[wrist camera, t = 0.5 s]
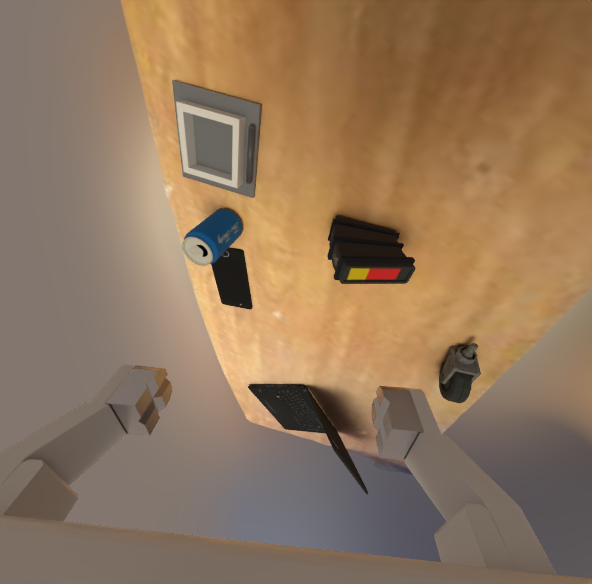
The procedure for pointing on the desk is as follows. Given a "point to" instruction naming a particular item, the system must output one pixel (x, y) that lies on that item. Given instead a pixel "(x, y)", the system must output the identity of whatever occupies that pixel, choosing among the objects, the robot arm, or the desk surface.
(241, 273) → the cell phone
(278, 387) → the laptop
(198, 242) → the beverage can
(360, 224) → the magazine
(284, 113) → the desk surface
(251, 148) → the charging dock
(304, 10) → the desk surface
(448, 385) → the caster wheel
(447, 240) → the desk surface
